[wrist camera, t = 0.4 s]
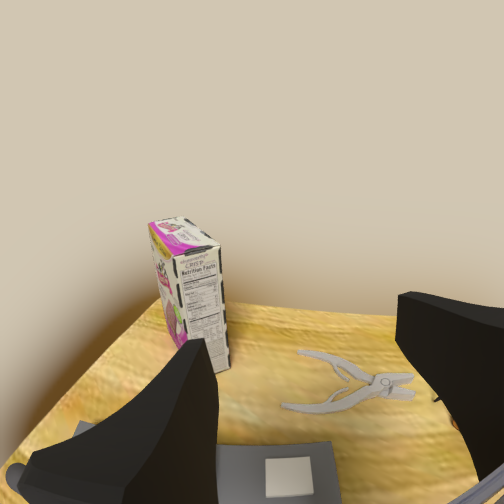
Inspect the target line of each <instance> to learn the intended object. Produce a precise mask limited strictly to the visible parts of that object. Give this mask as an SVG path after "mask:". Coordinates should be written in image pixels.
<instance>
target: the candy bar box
mask: <svg viewBox="0 0 504 504" xmlns="http://www.w3.org/2000/svg"><path fill="white" fill-rule="evenodd" d="M148 228H149V235H150V241H151V247H152V253H153V259H154V265H155V270H156V275H157V280H158V285H159V290H160V295H161V299H162V304H163V309H164V314H165V318H166V322H167V327H168V331H169V333H170V335H171V337H172V338H173V340H174V342H175V344H176V346H177V347H178V349H180V348H181V346H182V345H183V344H184V343H185V342H186V341H187V340H191V339H198V338H204V339H205V342H206V346H207V349H208V353H209V356H210V359H211V363H212V366H213V369H214V373H215V374H216V373H219V372H222V371H225V370H227V369H230V368H231V365H230V355H229V344H228V334H227V323H226V311H225V300H224V288H223V277H222V264H221V245H220V244H219V243H218V242H216V241H215V240H214V239H212V238H211V237H210V236H209V235H207V234H206V233H204V232H203V231H202V230H201V229H199V228H198V227H197V226H196V225H194V224H193V223H192V222H190V221H189V220H188V219H187V218H185V217H184V216H181V217H175V218H170V219H164V220H162V221H154V222H151V223H148Z"/></svg>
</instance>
